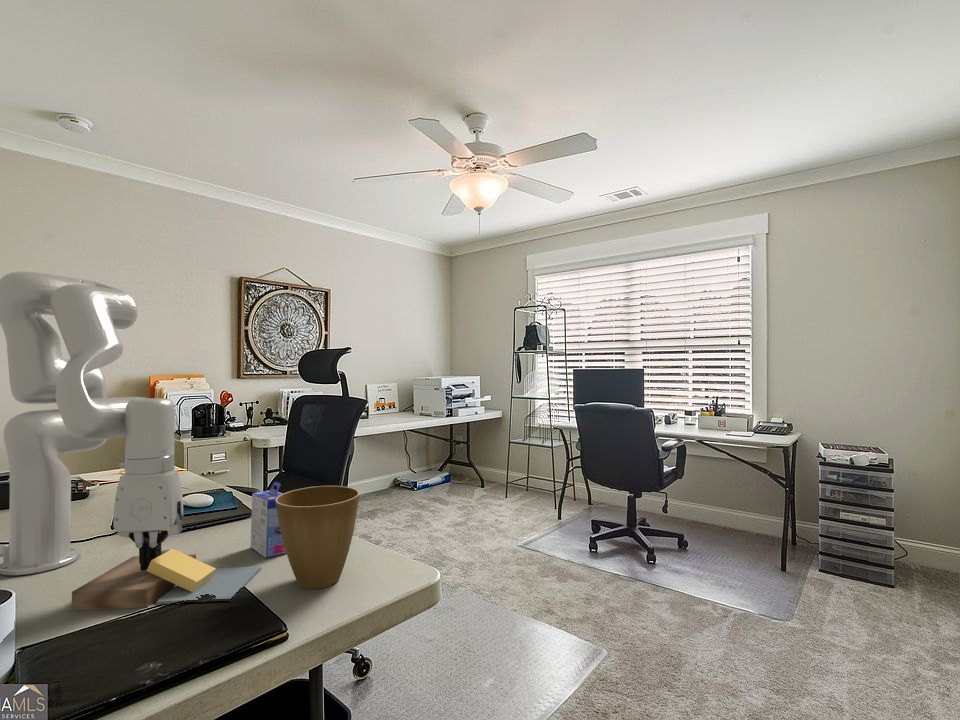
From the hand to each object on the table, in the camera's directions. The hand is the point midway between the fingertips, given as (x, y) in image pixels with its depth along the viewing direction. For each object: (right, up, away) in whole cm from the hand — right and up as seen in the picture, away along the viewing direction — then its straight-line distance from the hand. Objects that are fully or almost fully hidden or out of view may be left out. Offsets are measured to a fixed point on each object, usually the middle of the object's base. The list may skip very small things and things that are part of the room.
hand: (150, 567), depth 91 cm
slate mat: (+11, -4, +1) cm, 12 cm away
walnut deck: (-2, -4, 0) cm, 4 cm away
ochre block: (+6, -1, 0) cm, 6 cm away
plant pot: (+30, -4, +2) cm, 30 cm away
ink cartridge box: (+14, -4, +19) cm, 24 cm away
